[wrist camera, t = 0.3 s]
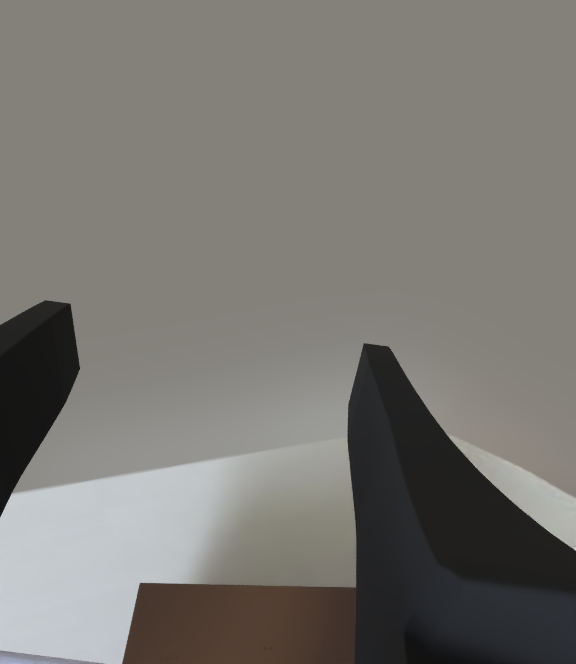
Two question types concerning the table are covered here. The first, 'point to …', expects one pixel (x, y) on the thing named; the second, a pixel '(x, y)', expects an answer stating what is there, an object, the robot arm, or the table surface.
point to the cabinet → (242, 625)
